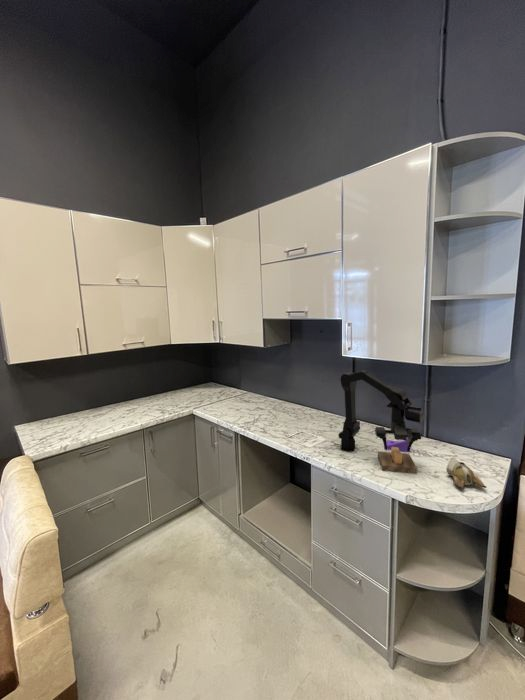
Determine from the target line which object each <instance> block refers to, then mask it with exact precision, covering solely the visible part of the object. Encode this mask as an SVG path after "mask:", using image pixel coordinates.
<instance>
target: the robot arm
mask: <svg viewBox="0 0 525 700" xmlns="http://www.w3.org/2000/svg"><path fill="white" fill-rule="evenodd" d="M339 380H340V384H341V385H340V386H341V387H342V389H343V391H344V392H343V393H344V408H345V410H344V411H345V412H344V413H345V420H344V422H343V426H342V431H340V432H339V433H338V439H340V450H341V451H345V452H355V449H356V439H355V436H356V435H357V434H358V433H359V432H360V429H361V421H358V420H357V417H356V403H355V400H356V399H355V389H356V387H357V382H359V381H361V380H362V381H363V382H365V384H368V385H370V386H371V387H372V388H374V389H376V390H378V391H379V392H381V393H382V394H383V395H384V396H385V398H386V399H387V400H388V401H390V402H389V403H388V404H386V407H387V408H390V429H386V428H385V427H383V426H375V427H374V433H375V435H376V437H377V438H379V439H381V440H382V443H383V445H384V446H385V449H384V450H385V451H387V443H386V441H387V435H391V436H392V435H393V437H394V439H395V440H397V441H404V440H406V439H407V437H408V439H407V452H406V453H410V452H409V450H410V451H411V448H412V446H413V444H414V442H416V441H417V442H418V440H421V439H422V433H421V432H420V430H419V429H418V428H410V427H408V428H407V427H406V422H405V421H406V420H407V421H408V422H413V423H417V424H423V422H424V419H425V412H424V407H422V406H416V405H413V403H412V402H411V400H410V399H409V397H408V395H407V392H406V391H405V390H403V389H401V388H399V387H396V386H393V385H389V384H388V383H386V382H385V381H382V380H381V379H380V378H378V377H377V376H375V375H373V374H371V373H370V372H369V371H368V370H361V371H359V372H346V373H343V374H341V376H340V378H339ZM405 419H406V420H405Z"/></svg>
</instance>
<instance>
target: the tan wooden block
mask: <svg viewBox="0 0 525 700" xmlns="http://www.w3.org/2000/svg"><path fill="white" fill-rule="evenodd" d="M390 452H391V458H393V461H394V463H396V464H402V454H401V453H402V451H400V450H399V448H398V447H391V450H390Z"/></svg>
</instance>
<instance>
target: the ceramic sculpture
mask: <svg viewBox="0 0 525 700" xmlns="http://www.w3.org/2000/svg"><path fill="white" fill-rule="evenodd" d="M445 469H446V472H447V474H448V475H449V476H450V477H452V480H453V483H454V484H455V485H456V487H458V488H460V489H464V487H466V486H469V485H471V484H473V485H474V486H475V487H478V488H481V489H482V488H483V489H486V488H488V487H487V486H486V485H485V483H484V482H483V481H482V480H481V478H479V477H478V476H477V475H475V474H474V471H473V470H472V469H471V468H470V467H469V466H468V465H466V463H464V462H463V461H459V460H457V459H455V458H454V457H451V458H450V459H449V462H448V463H447V466H446V468H445Z"/></svg>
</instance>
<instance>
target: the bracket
mask: <svg viewBox="0 0 525 700" xmlns="http://www.w3.org/2000/svg"><path fill="white" fill-rule="evenodd" d="M407 439H408V437H407ZM407 439H406V440H397V441H395V440H386V443H387V450H388V451H389V450H390V451H391V447H398V448H399V450H400V452H402V453H411V449H410V450H409V452H407ZM383 448H384V450H386V449H385V446H384V447H383ZM387 450H386V451H387Z"/></svg>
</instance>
